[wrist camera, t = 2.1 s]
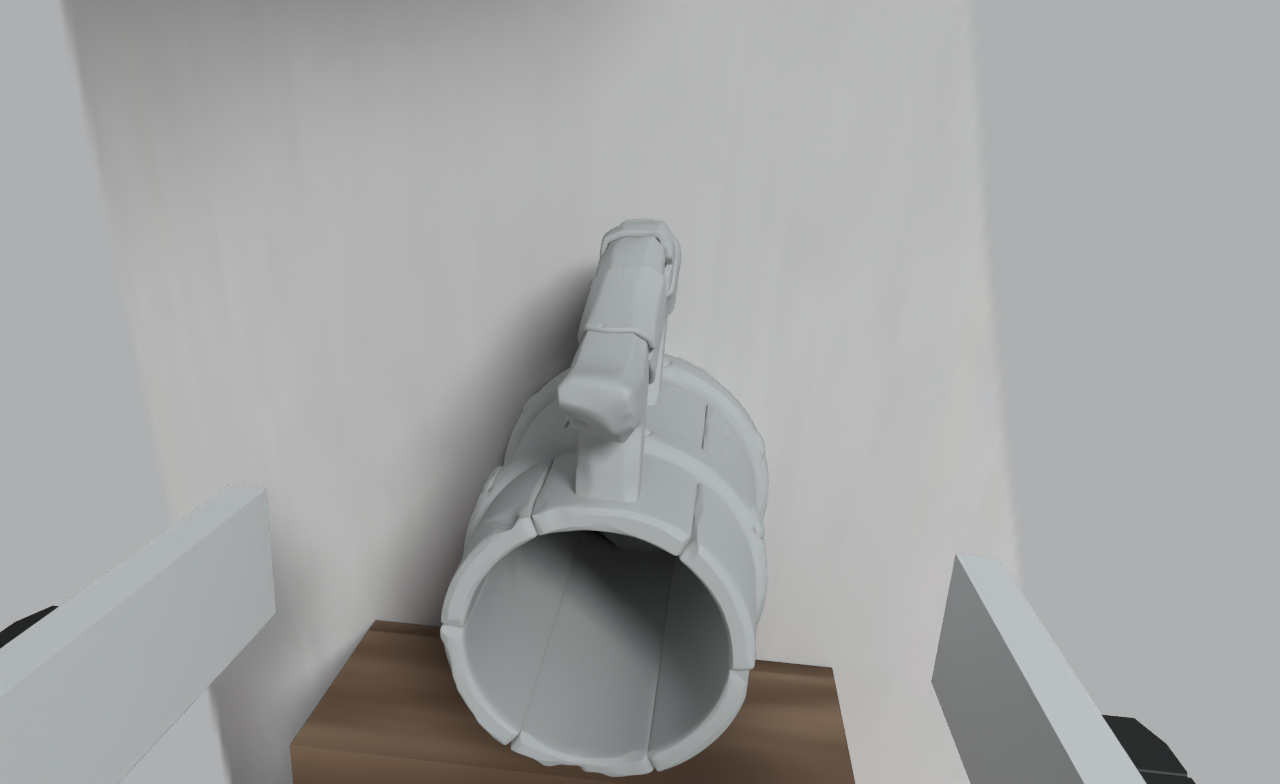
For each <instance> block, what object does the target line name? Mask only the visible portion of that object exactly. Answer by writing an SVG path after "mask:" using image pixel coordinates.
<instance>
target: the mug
mask: <svg viewBox="0 0 1280 784" xmlns="http://www.w3.org/2000/svg"><path fill="white" fill-rule="evenodd" d="M680 264H681V247H680V244H679V242H678V240H677V239H676V237H675V236H674V234H673V233H672V232H671V230H670V229H669V227H668V225H667V224H666V223H665V222H663V221H660V220H653V219H632V220H626V221H624V222H622V223H621V225H620V226H618V227H616V228H614V229H612V230H610V231H609V232H607V233H606V234H605V235H604V237H603V240H602V244H601V250H600V261H599V264H598V268H597V273H596V277H595V278H594V279H593V280H592V282H591V285H590V289H589V294H588V298H587V302H586V305H585V308H584V312H583V315H582V319H581V322H580V327H579V331H578V343H579V348H578V349H577V351H576V354H575V356H574V358H573V361H572V364H571V366H570V368H569V369H567V370H565V371H563V372H562V373H560V374H558V375H557V376H556V377H554V378H553V379H552V380H550V381H549V382H548V383H547V384H546V385H545V386H544V387H543V388H542V389H541V390H540V391H539V392H537V393H535V394H534V395H532V396H531V397H530V398H529V400H528V401H527V402H526V404H525V405H524V407H523V409H522V414H521V416H520V418H519V419H518V421H517V423H516V425H515V427H514V429H513V431H512V434H511V437H510V440H509V443H508V446H507V449H506V454H505V459H504V464H503V466H498V467H496V468H495V469H494V470H493V471H492V472H491V473H490V474H489V476H488V477H487V479H486V481H485V482H484V484H483V486H482V490H481V494H480V495H479V497H478V499H477V503H476V506H475V509H474V511H473V513H472V516H471V518H470V521H469V524H468V527H467V531H466V535H465V541H464V550H463V557H462V560H461V562H460V564H459V566H458V568H457V570H456V572H455V574H454V576H453V578H452V580H451V582H450V585H449V587H448V590H447V593H446V596H445V599H444V603H443V607H442V613H441V622H442V623H443V624H442V626H441V629H440V636H441V639H442V641H443V643H444V646H445V652H446V655H447V659H448V662H449V664H450V667H451V671H452V675H453V679H454V681H455V683H456V687H457V690H458V692H459V693H460V695H461V697H462V698H463V700H464V702H465V704H466V705H467V707H468V708H469V709H470V710H471V712H472V713H473V715H474V716H475V718H476V720H477V721H478V723H479V724H480V725H481V726H482V727H483V728H484V729H485V730H486V731H487V732H488V733H489V734H490V735H491V736H492V737H493V738H495V739H496V740H497V741H499V742H500V743H502V744H503V745H507V744H508V743H510V742H511V741H512V742H511V750H512V751H514V752H517V753H519V754H522V755H525V756H528V757H531V758H533V759H535V760H537V761H538V762H539V763H541V764H542V765H544V766H555V765H560V764H562V765H576V766H580V768H581V769H582V770H583V771H585V772H597V773H602V774H605V775H607V776H611V777H624V776H629V775H642V774H647V773H649V772H651V771H653V769H654V767H655V769H656V770H657V771H662V770H666V769H669V768H671V767H674V766H676V765H679V764H681V763H683V762H685V761H687V760H688V759H690V758H692V757H693V756H695V755H697V754H698V753H700V752H701V751H702V750H704V749H705V748H707V747H708V746H709V745H710V744H711V743H713V742H714V741H715V740H716V739H717V738H718V737H719V736H720V735H721V734H722V733H723V732H724V731H725V730H726V729H727V727H728V726H729V725H730V724H731V722H732V721H733V720H734V718H735V717H736V715H737V713H738V712H739V710H740V708H741V706H742V704H743V702H744V700H745V697H746V692H747V685H748V677H749V670H751V669H753V668H754V666H755V657H756V626H757V624H758V621H759V619H760V616H761V613H762V610H763V606H764V601H765V596H766V589H767V561H766V551H765V544H764V534H765V532H764V527H763V518H764V515H765V511H766V505H767V498H768V467H767V461H766V456H765V453H766V452H765V444H764V441H763V438H762V436H761V435H760V433H759V432H758V431H757V429H756V427H755V425H754V423H753V421H752V419H751V417H750V416H749V414H748V413H747V411H746V410H745V408H744V407H743V406H742V405H741V403H740V402H739V401H738V400H737V399H736V398H735V397H734V396H733V395H732V393H731V392H730V391H729V390H727V389H726V388H725V387H724V386H723V385H721V384H720V383H719V382H718V381H716V380H715V379H713V378H712V377H711V376H709V374H708V373H707V372H705V371H704V370H702V369H700V368H699V367H697V366H695V365H693V364H691V363H689V362H687V361H684V360H682V359H679V358H675V357H672V356H668V355H664V349H665V338H666V328H667V317H668V315H669V314H671V313H672V311H673V309H674V305H675V300H676V292H677V283H678V276H679V271H680ZM591 530H594V531H600V532H601V533H602V534H603V535H604V536H605V537H607V538H608V539H609V540H610V541H608V540H606V539H604V538H601V537H600V536H598V535H596V534H595V533H593V532H592V531H591Z"/></svg>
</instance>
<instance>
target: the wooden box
mask: <svg viewBox="0 0 1280 784" xmlns="http://www.w3.org/2000/svg"><path fill="white" fill-rule="evenodd" d="M440 629H441V627H435V626H426V625H416V624H407V623H397V622H388V621H378V620H376V621H375V622H374V623H373V625H372V626H371V628H370V629H369V631H368V632H367V634H366V635H365V637H364V638H363V639H362V641H361V642H360V644H359V645H358V647H357V648H356V650H355V651H354V653H353V654H352V655H351V657H350V658H349V660H348V661H347V663H346V664H345V666H344V667H343V669H342V670H341V671H340V673H339V674H338V676H337V677H336V679H335V680H334V682H333V683H332V685H331V686H330V687H329V689H328V690H327V692H326V693H325V695H324V696H323V698H322V699H321V701H320V702H319V703H318V705H317V706H316V708H315V709H314V711H313V712H312V714H311V715H310V717H309V718H308V719H307V721H306V722H305V724H304V725H303V727H302V728H301V730H300V731H299V733H298V734H297V735H296V737H295V738H294V740H293V741H292V743H291V744H290V750H291V761H292V772H293V783H294V784H855V780H854V775H853V770H852V765H851V760H850V755H849V750H848V745H847V740H846V735H845V730H844V725H843V720H842V715H841V710H840V705H839V700H838V695H837V690H836V685H835V680H834V675H833V670H832V668H829V667H819V666H809V665H800V664H790V663H781V662H771V661H761V660H755V666H754V668H753V669H751V670H749V677H748V685H747V692H746V697H745V700H744V702H743V704H742V706H741V708H740V710H739V712H738V713H737V715H736V717H735V718H734V720H733V721H732V722H731V724H730V725H729V726H728V727H727V729H726V730H725V731H724V732H723V733H722V734H721V735H720V736H719V737H718V738H717V739H716V740H715V741H714V742H713V743H711V744H710V745H709V746H708V747H707V748H705V749H704V750H702V751H701V752H700V753H698V754H697V755H695V756H693V757H692V758H690V759H688V760H687V761H685V762H683V763H681V764H679V765H676V766H674V767H671V768H669V769H666V770H662V771H657V770H656V769H655V767H654V769H653V771H651V772H649V773H647V774H642V775H629V776H624V777H611V776H607V775H605V774H602V773H597V772H585V771H583V770H582V769H581V768H580V766H576V765H562V764H560V765H555V766H544V765H542V764H541V763H539V762H538V761H537V760H535V759H533V758H531V757H528V756H525V755H522V754H519V753H517V752H514V751H512V750H511V742H512V741H511V742H510V743H508V744H507V745H503V744H502V743H500V742H499V741H497V740H496V739H495V738H493V737H492V736H491V735H490V734H489V733H488V732H487V731H486V730H485V729H484V728H483V727H482V726H481V725H480V724H479V723H478V721H477V720H476V718H475V716H474V715H473V713H472V712H471V710H470V709H469V708H468V707H467V705H466V704H465V702H464V700H463V698H462V697H461V695H460V693H459V692H458V690H457V687H456V683H455V681H454V679H453V675H452V671H451V667H450V664H449V662H448V659H447V655H446V652H445V646H444V643H443V641H442V639H441V636H440Z"/></svg>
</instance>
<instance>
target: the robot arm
mask: <svg viewBox="0 0 1280 784" xmlns="http://www.w3.org/2000/svg"><path fill="white" fill-rule="evenodd" d="M276 613H277V612H276V600H275V588H274V576H273V563H272V551H271V539H270V527H269V515H268V502H267V490H266V489H261V488H251V487H240V486H230V485H228V486H227V487H226V488H224V489H223V490H221V491H220V492H219V493H217V494H216V495H214V496H213V497H212V498H210V499H209V500H207V501H206V502H205V503H203V504H202V505H200V506H199V507H198V508H196V509H195V510H193V511H192V512H191V513H189V514H188V515H186V516H185V517H184V518H182V519H181V520H179V521H178V522H177V523H175V524H174V525H172V526H171V527H170V528H168V529H167V530H166V531H164V532H163V533H161V534H160V535H158V536H157V537H156V538H154V539H153V540H152V541H150V542H149V543H147V544H146V545H144V546H143V547H142V548H140V549H139V550H138V551H136V552H135V553H133V554H132V555H131V556H129V557H128V558H126V559H125V560H124V561H122V562H121V563H119V564H118V565H117V566H115V567H114V568H112V569H111V570H110V571H108V572H107V573H106V574H104V575H103V576H101V577H100V578H98V579H97V580H96V581H94V582H93V583H91V584H90V585H89V586H87V587H86V588H84V589H83V590H82V591H80V592H79V593H78V594H76V595H75V596H73V597H72V598H70V599H69V600H68V601H66V602H65V603H63V604H62V605H61V606H51V607H49V608H46V609H44V610H42V611H39V612H37V613H35V614H33V615H30V616H28V617H26V618H23V619H21V620H19V621H16V622H14V623H13V624H12V625H10V626H9V627H7V628H6V629H4V630H3V631H1V632H0V784H118V783H119V782H120V781H121V780H122V779H123V778H124V777H125V776H126V775H127V774H128V773H129V771H131V769H132V768H133V767H134V766H135V765H136V764H137V763H138V762H139V761H140V760H141V759H142V757H143V756H144V755H145V754H146V753H147V752H148V751H149V750H150V749H151V748H152V747H153V745H155V744H156V743H157V741H158V740H159V739H160V738H161V737H162V736H163V735H164V734H165V733H166V732H167V731H168V729H169V728H170V727H171V726H172V725H173V724H174V723H175V722H176V721H177V719H179V718H180V717H181V716H182V714H183V713H184V712H185V711H186V710H187V709H188V708H189V707H190V706H191V705H192V704H193V703H194V701H195V700H196V699H197V698H198V697H199V696H200V695H201V694H202V693H203V692H204V691H205V690H206V689H207V687H208V686H209V685H210V684H211V683H212V682H213V681H214V680H215V679H216V678H217V677H218V676H219V675H220V673H221V672H222V671H223V670H224V669H225V668H226V667H227V666H228V665H229V664H230V663H231V662H232V661H233V659H234V658H235V657H236V656H237V655H238V654H239V653H240V652H241V651H242V650H243V649H244V648H245V646H246V645H247V644H248V643H249V642H250V641H251V640H252V639H253V638H254V637H255V636H256V635H257V634H258V632H259V631H260V630H261V629H262V628H263V627H264V626H265V625H266V624H267V623H268V622H269V621H270V620H271V618H272V617H273V616H274V615H275V614H276ZM931 682H932V684H933V687H934V689H935V692H936V695H937V697H938V700H939V702H940V705H941V708H942V710H943V713H944V715H945V718H946V721H947V723H948V726H949V728H950V731H951V734H952V736H953V739H954V741H955V744H956V747H957V749H958V752H959V754H960V757H961V760H962V762H963V765H964V767H965V770H966V773H967V775H968V778H969V780H970V783H971V784H1195V782H1194V781H1193V780H1192V778H1188V777H1187V771H1186V770H1185V769H1184V767H1183V766H1182V765H1181V763H1180V762H1179V761H1178V759H1177V758H1176V756H1175V755H1174V754H1173V752H1172V751H1171V750H1170V749H1169V747H1168V746H1167V744H1166V743H1164V742H1163V741H1162V740H1161V739H1159V738H1158V737H1157V736H1156V735H1154V734H1153V733H1152V732H1151V731H1149V730H1148V729H1147V728H1146V727H1144V726H1143V725H1142V724H1141V723H1139V722H1138V721H1137V720H1136V719H1134V718H1127V717H1118V716H1108V715H1101V714H1100V712H1099V710H1098V709H1097V707H1096V706H1095V704H1094V703H1093V701H1092V700H1091V698H1090V697H1089V695H1088V694H1087V692H1086V691H1085V689H1084V688H1083V686H1082V684H1081V683H1080V682H1079V680H1078V678H1077V677H1076V675H1075V674H1074V672H1073V671H1072V669H1071V668H1070V666H1069V665H1068V663H1067V662H1066V660H1065V659H1064V657H1063V655H1062V654H1061V653H1060V651H1059V649H1058V648H1057V646H1056V645H1055V643H1054V642H1053V640H1052V639H1051V637H1050V636H1049V634H1048V633H1047V631H1046V630H1045V628H1044V627H1043V625H1042V623H1041V622H1040V620H1039V619H1038V617H1037V616H1036V614H1035V613H1034V611H1033V610H1032V608H1031V607H1030V605H1029V604H1028V602H1027V600H1026V599H1025V597H1024V596H1023V594H1022V593H1021V591H1020V590H1019V588H1018V587H1017V585H1016V584H1015V582H1014V581H1013V579H1012V578H1011V576H1010V575H1009V573H1008V571H1007V570H1006V568H1005V567H1004V565H1003V564H1002V562H1001V561H1000V559H999V558H995V557H984V556H973V555H963V554H956V555H955V561H954V566H953V571H952V576H951V582H950V587H949V592H948V597H947V603H946V608H945V613H944V618H943V624H942V629H941V634H940V639H939V645H938V650H937V655H936V660H935V666H934V671H933V676H932V681H931Z"/></svg>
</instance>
